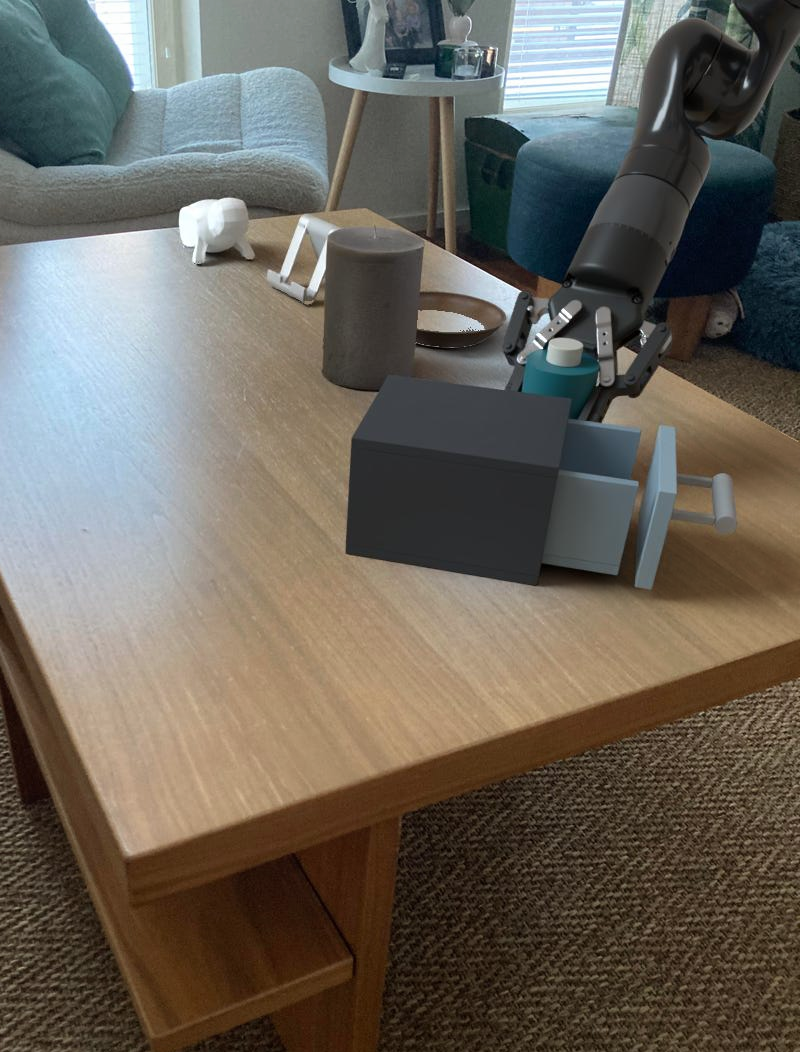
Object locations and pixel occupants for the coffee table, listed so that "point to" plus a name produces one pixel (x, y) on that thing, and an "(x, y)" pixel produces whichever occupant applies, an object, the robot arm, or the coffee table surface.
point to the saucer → (465, 306)
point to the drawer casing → (455, 477)
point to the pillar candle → (370, 305)
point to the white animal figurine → (215, 227)
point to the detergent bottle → (562, 373)
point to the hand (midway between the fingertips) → (545, 420)
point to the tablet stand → (318, 238)
